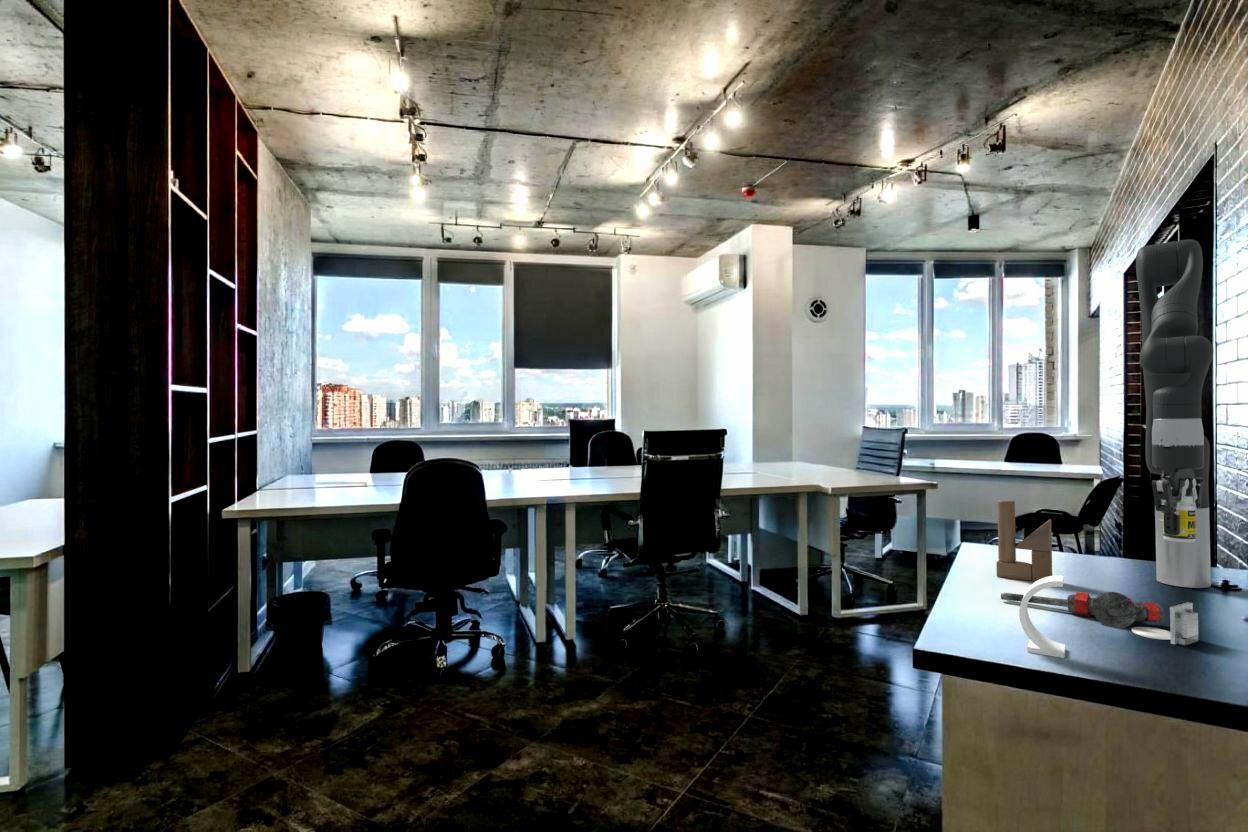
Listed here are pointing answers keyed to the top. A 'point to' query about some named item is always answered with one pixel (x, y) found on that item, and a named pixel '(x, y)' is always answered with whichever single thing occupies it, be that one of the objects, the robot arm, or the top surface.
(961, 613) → the top surface
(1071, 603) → the valve
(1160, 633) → the pad
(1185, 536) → the supplement bottle
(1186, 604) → the flange stub
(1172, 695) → the top surface
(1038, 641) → the headphone stand
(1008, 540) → the wooden block
